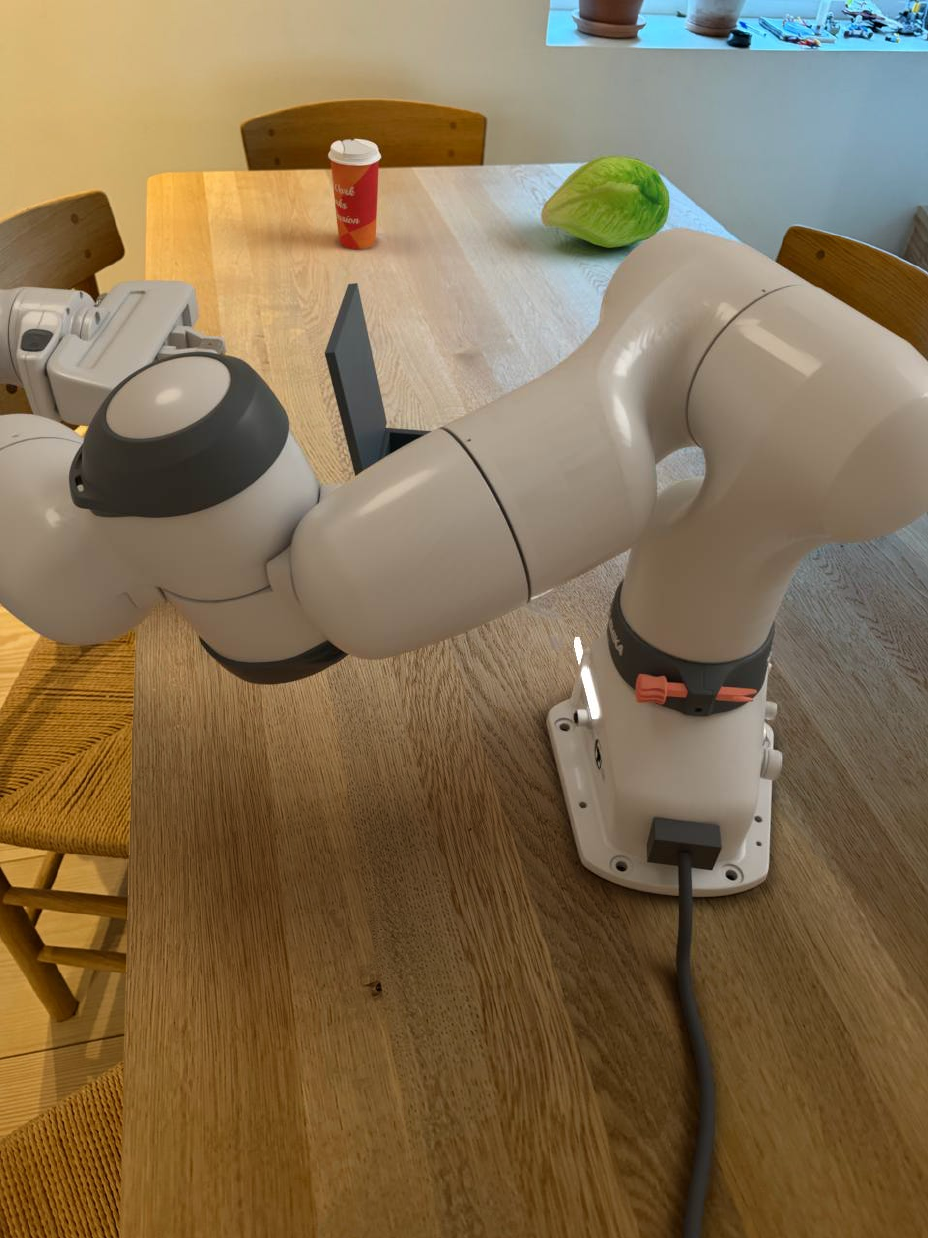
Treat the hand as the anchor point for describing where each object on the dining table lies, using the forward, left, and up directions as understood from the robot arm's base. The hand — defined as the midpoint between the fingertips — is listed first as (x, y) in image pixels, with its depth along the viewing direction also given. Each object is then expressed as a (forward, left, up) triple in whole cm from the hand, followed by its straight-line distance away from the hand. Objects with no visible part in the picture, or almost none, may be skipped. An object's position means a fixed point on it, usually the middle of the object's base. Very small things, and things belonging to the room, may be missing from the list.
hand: (221, 353), depth 84 cm
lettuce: (+77, -39, -19) cm, 88 cm away
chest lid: (0, -13, -3) cm, 13 cm away
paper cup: (+71, -1, -19) cm, 74 cm away
